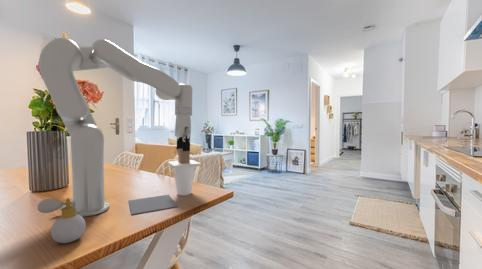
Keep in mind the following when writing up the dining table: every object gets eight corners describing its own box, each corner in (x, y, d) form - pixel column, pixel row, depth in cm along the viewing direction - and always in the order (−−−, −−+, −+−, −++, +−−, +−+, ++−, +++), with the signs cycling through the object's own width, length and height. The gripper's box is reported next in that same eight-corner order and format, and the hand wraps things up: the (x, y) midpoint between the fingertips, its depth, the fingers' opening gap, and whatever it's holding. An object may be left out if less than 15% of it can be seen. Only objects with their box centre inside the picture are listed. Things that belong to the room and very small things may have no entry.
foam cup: (182, 197, 97) (182, 167, 96) (169, 193, 103) (169, 165, 102) (199, 192, 104) (198, 164, 104) (186, 189, 110) (185, 162, 110)
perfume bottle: (89, 239, 61) (88, 196, 61) (42, 255, 54) (41, 206, 54) (81, 231, 66) (80, 191, 66) (37, 244, 59) (35, 199, 58)
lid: (174, 168, 95) (173, 151, 94) (167, 164, 105) (167, 148, 105) (201, 166, 101) (201, 150, 100) (192, 162, 111) (192, 147, 111)
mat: (131, 215, 78) (131, 214, 78) (128, 201, 92) (128, 200, 92) (177, 206, 86) (177, 205, 86) (168, 195, 100) (168, 194, 100)
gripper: (170, 112, 107) (170, 148, 108) (180, 110, 92) (179, 152, 93) (186, 113, 111) (185, 148, 112) (197, 111, 96) (197, 151, 97)
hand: (183, 149), depth 102 cm, fingers open, 9 cm apart
